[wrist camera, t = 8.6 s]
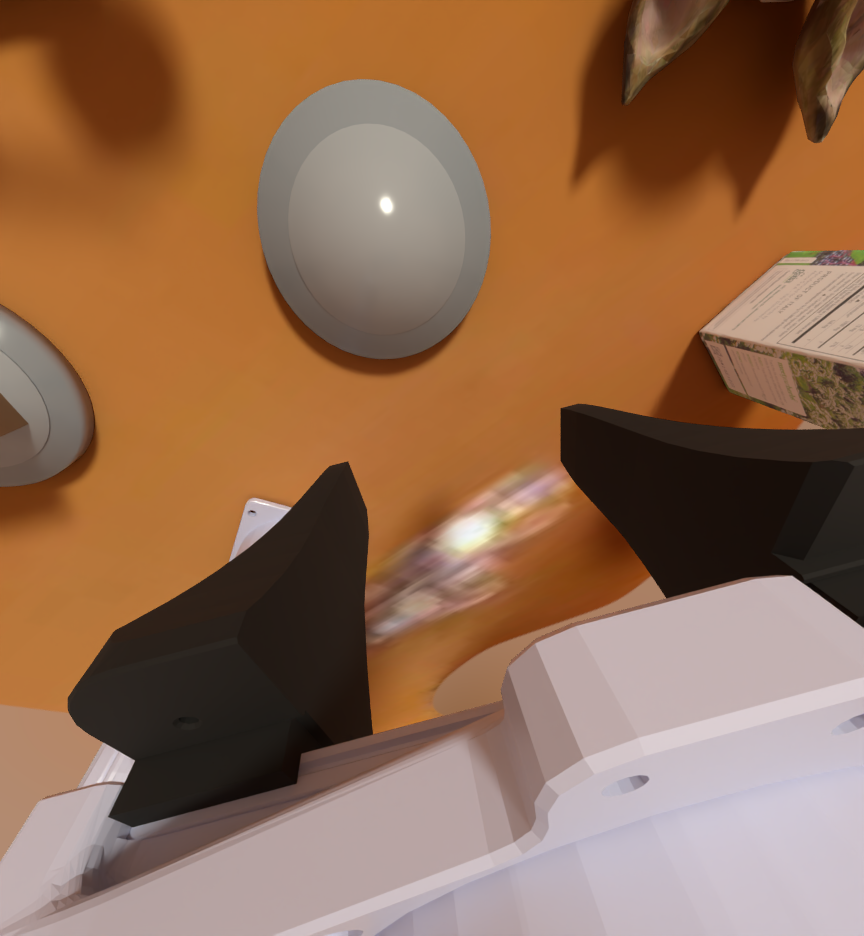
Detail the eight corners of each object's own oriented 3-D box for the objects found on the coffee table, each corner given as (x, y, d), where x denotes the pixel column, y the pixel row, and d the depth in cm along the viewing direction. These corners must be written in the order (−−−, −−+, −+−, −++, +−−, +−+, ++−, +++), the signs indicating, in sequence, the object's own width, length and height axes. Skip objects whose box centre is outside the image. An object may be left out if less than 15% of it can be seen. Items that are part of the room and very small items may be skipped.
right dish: (428, 384, 20) (431, 390, 19) (241, 299, 16) (233, 301, 15) (524, 186, 16) (534, 181, 15) (302, 19, 12) (295, -2, 11)
